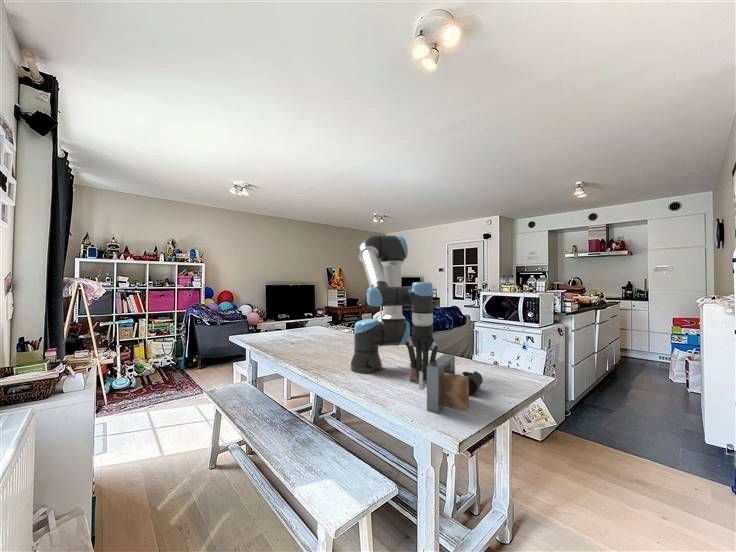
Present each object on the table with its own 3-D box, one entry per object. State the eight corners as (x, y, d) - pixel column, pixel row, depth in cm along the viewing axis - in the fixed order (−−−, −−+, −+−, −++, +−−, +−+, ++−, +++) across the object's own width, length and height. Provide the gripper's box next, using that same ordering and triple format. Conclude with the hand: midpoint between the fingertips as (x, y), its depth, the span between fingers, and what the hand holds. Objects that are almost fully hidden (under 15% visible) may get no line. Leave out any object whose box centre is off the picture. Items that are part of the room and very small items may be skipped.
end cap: (477, 397, 114) (477, 379, 114) (457, 394, 118) (457, 376, 118) (482, 389, 123) (482, 372, 123) (464, 385, 126) (464, 369, 126)
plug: (428, 402, 110) (428, 368, 110) (432, 397, 114) (432, 365, 114) (465, 410, 103) (465, 374, 103) (468, 405, 107) (468, 370, 107)
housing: (425, 410, 104) (425, 365, 104) (443, 392, 119) (443, 353, 119) (438, 413, 101) (438, 367, 101) (454, 395, 116) (454, 355, 116)
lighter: (408, 382, 131) (408, 358, 130) (410, 379, 134) (410, 356, 134) (427, 384, 128) (427, 360, 127) (429, 382, 131) (429, 358, 131)
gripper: (401, 324, 114) (401, 388, 114) (435, 327, 107) (435, 395, 107) (410, 321, 120) (410, 382, 120) (443, 324, 113) (443, 389, 113)
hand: (422, 388), depth 114 cm, fingers closed
